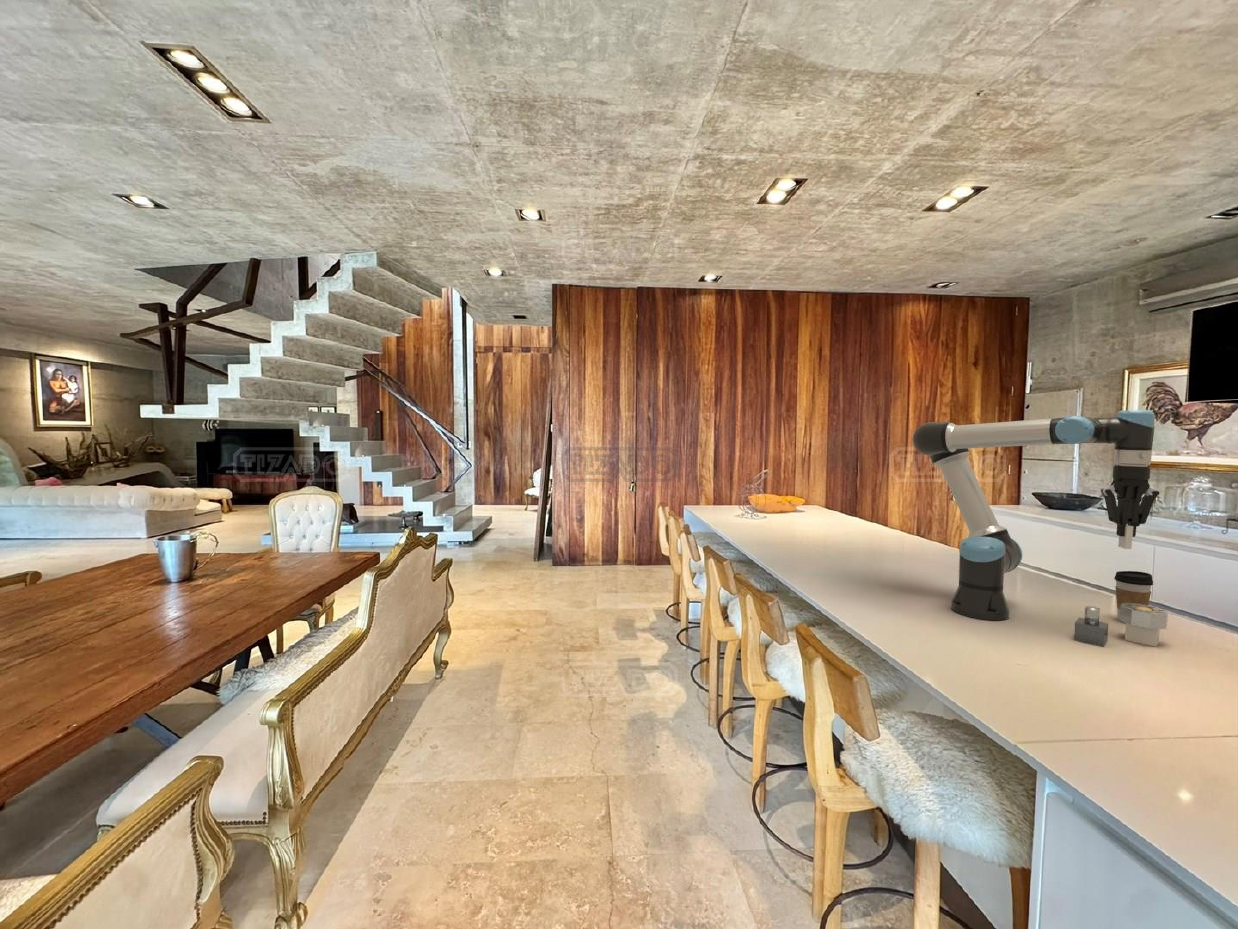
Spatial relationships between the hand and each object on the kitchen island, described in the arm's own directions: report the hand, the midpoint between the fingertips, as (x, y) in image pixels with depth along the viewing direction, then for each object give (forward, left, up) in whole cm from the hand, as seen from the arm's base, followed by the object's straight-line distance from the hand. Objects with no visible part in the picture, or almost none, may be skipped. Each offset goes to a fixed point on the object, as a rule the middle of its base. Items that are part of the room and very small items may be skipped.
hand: (1124, 547), depth 148 cm
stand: (-4, -15, -24) cm, 29 cm away
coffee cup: (+1, +14, -25) cm, 28 cm away
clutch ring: (+5, -4, -19) cm, 20 cm away
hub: (+5, -4, -24) cm, 25 cm away
